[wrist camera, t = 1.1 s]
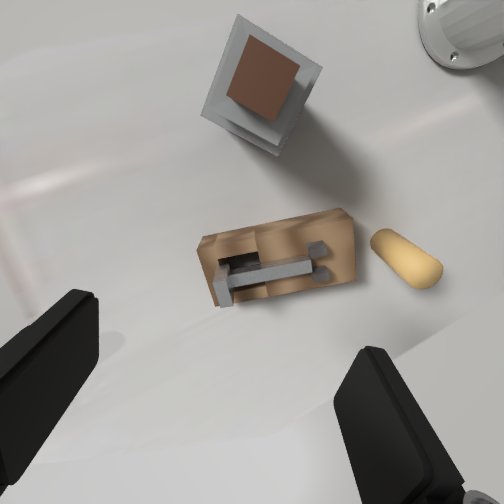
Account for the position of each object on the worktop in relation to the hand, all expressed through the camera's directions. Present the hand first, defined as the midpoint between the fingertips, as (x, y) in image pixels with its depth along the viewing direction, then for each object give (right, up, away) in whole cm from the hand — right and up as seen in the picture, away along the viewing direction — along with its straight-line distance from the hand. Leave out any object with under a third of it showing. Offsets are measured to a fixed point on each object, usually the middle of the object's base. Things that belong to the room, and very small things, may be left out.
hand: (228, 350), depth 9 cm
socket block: (+4, +4, +30) cm, 31 cm away
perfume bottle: (+1, +21, +23) cm, 31 cm away
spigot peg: (+20, +5, +30) cm, 36 cm away
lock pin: (+2, +1, +26) cm, 26 cm away
